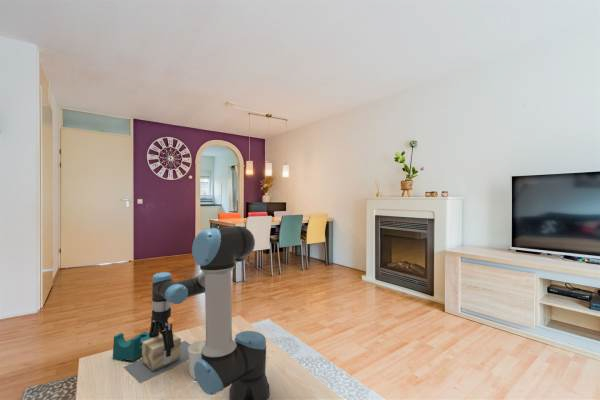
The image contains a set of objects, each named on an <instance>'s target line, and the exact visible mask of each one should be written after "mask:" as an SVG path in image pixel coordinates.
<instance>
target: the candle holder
mask: <svg viewBox="0 0 600 400" xmlns="http://www.w3.org/2000/svg"><path fill="white" fill-rule="evenodd" d="M190 344H191V345H189V347H188V360H187V361H188V375H189V376H190V377H191V378H194V379H193V380H192V381H194V382H197V380H196V377H195V373H194V365H195V363H196V361H197V360H198V359H201V350H202V347H203V346H204V345H205V344H206V340H197V341H194V342H192V343H190Z"/></svg>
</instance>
